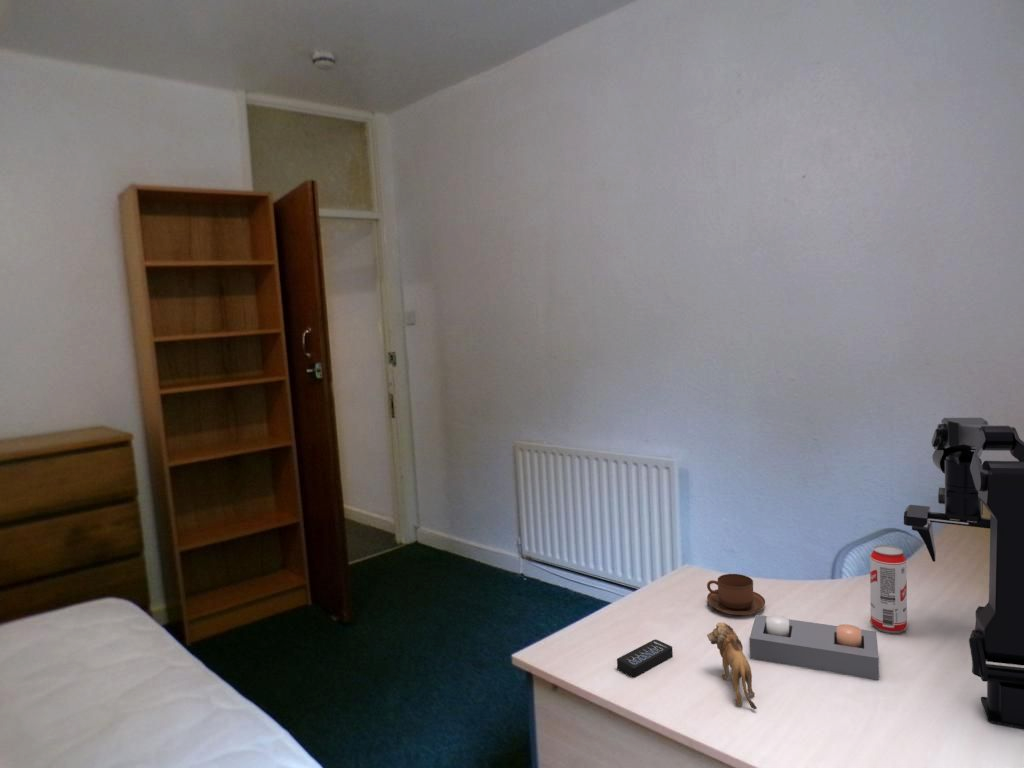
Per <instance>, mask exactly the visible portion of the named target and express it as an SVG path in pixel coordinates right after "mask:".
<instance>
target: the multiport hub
mask: <svg viewBox="0 0 1024 768" xmlns="http://www.w3.org/2000/svg"><path fill="white" fill-rule="evenodd" d="M673 653H674V652H673V646H672V645H670V644H668V643H665V642H663V641H661V640H659V639H656V638H655V639H652V640H651V641H649V642H647V643H645V644H642V645H641V646H639V647H637V648H634V649H633V650H631V651H630V652H627V653H625V654H622V655H621V656H620V657H617V659H616V669H617V671H620V672H621V673H623V674H625V675H627V676H629V677H631V678H634V679H635V678H636V679H637V678H638V677H639V676H641V675H643V674H645V673H646V672H648V671H650V670H652V669H654V668H656V667H657V666H659V665H661V664H663V663H664V662H667V661H668V660H671V659H672V658H673V655H674V654H673Z"/></svg>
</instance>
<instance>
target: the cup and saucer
mask: <svg viewBox="0 0 1024 768" xmlns="http://www.w3.org/2000/svg"><path fill="white" fill-rule="evenodd" d="M712 584H714V585H716V586H717V589H712V588H711V585H712ZM706 588H707V590H708V591H709V593H708V594H707V596H706V597H707V598H706V599H707V602H708V604H709V605H710V606H711V607H712V608H713V609H715V610H717V611H719V612H721V613H724V614H729V615H735V616H746V615H752V614H755V613H757V612H760V611H761V610H763V609H764V607H765V605H766V599H765V598H764V597H763V596H762V595H761V594H759V592H756V591H754V580H753V579H752V578H751V577H750V576H747V575H744V574H740V573H726V574H722V575H720V576H718V578H717V580H714V579H713V580H709V581H708V582H707V584H706Z"/></svg>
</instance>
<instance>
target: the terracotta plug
mask: <svg viewBox="0 0 1024 768" xmlns="http://www.w3.org/2000/svg"><path fill="white" fill-rule="evenodd" d="M836 626H837V645H843V646H850V647H856V648H862V639H861V629H862V628H860V627H858V626H856V625H852V624H846V623H845V624H839V625H836Z"/></svg>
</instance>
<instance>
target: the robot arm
mask: <svg viewBox="0 0 1024 768" xmlns="http://www.w3.org/2000/svg"><path fill="white" fill-rule="evenodd" d="M940 422H941V423H938V424H937V427H936V429H935V430H934V433H933V436H932V438H931V442H930V443H931V445H932V447H933V449H934V451H933V453H932V457H931V458H932V463H933V464H934V465H935V467H936V468H937V469H939V471H940V472H942V473H943V474H944V487H938V496H937V498H938V499H937V503H938V504H939V505H944V513H943V512H935V511H934V512H933V511H931V506H929V505H926V506H925V505H915V504H909V505H908V506H907V507H906V508H905V509H904V512H903V525H905V526H907V527H908V526H909V527H911V530H912V531H916V532H917V533H918V534H919V536H920V537H921V540H922V541H923V543H924V545H925V546H926V549H927V551H928V553H929V556H930V558H931V560H932V562H936V560H937V556H936V555H937V552H936V545H935V538H934V532H933V531H934V529H933V528H934V527H933V523H935V524H936V523H938V524H946V525H954V526H962V527H971V528H972V527H973V528H980V529H981V528H983V529H990V531H989V569H988V570H989V573H988V574H989V575H988V576H989V577H988V578H989V579H988V603H986V604H985V605H984V606H980V605H979V606H977V608H976V610H975V623H974V624H975V625H974V626H975V627H974V629H972V630H971V634H970V637H969V638H968V643H969V651H970V658H971V664H972V665H971V666H972V667H971V669H972V671H971V673H972V674H973V675H974V676H976V677H978V678H979V679H980V680H981V682H983V683H984V682H986V687H987V688H986V696H981V697H980V701H981V705H982V708H983V711H984V714H985V717H986V720H987V721H988V722H990V723H993V724H997V725H1002V726H1010V727H1014V728H1021V729H1024V667H1019V666H1024V441H1023V440H1022V439H1021V438H1020V436H1019V433H1018V431H1017V428H1016V427H1015V426H1010V425H1001V424H1000V425H999V424H998V425H989V422H988V420H986V419H985V418H983V417H943V418H942V419H941V421H940ZM984 451H991V452H994V451H995V452H997V451H999V452H1001V451H1002V452H1005V451H1006V452H1009V453H1010V454H1011V456H1012V457H1014V458H1015V460H984V461H983V460H982V459H981V456H982V454H983V452H984ZM984 506H985V508H986V509H987V511H988V512H989V514H990V517H983V514H984V513H983V511H984ZM987 662H988V663H987ZM991 663H996V664H991ZM1001 664H1007V665H1001ZM1009 665H1014V666H1009ZM1015 665H1016V666H1015Z"/></svg>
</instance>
